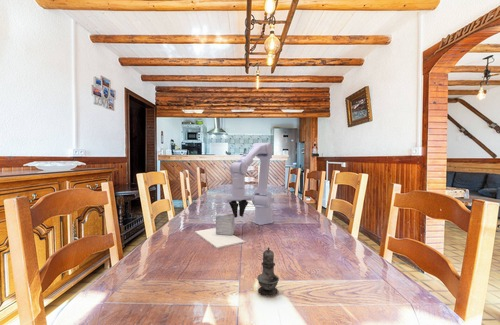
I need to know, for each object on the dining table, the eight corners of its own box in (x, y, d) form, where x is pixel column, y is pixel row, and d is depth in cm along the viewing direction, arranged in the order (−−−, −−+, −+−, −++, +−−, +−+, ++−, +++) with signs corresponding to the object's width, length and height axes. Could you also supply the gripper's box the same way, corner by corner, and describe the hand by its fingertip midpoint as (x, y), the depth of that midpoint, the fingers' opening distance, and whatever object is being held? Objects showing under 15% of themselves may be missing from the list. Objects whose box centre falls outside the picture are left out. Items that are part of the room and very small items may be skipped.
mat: (219, 228, 124) (219, 227, 124) (244, 242, 103) (244, 241, 103) (194, 232, 116) (194, 231, 116) (216, 248, 96) (216, 247, 96)
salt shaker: (255, 285, 69) (256, 243, 69) (276, 285, 69) (277, 242, 69) (258, 297, 63) (258, 251, 63) (280, 296, 64) (281, 250, 63)
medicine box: (234, 232, 115) (234, 214, 114) (232, 235, 110) (231, 216, 110) (218, 231, 116) (218, 213, 116) (215, 234, 112) (215, 215, 111)
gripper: (246, 186, 122) (246, 213, 122) (220, 187, 114) (220, 216, 115) (254, 187, 116) (254, 216, 117) (227, 189, 108) (227, 220, 109)
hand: (238, 216), depth 115 cm, fingers open, 3 cm apart
